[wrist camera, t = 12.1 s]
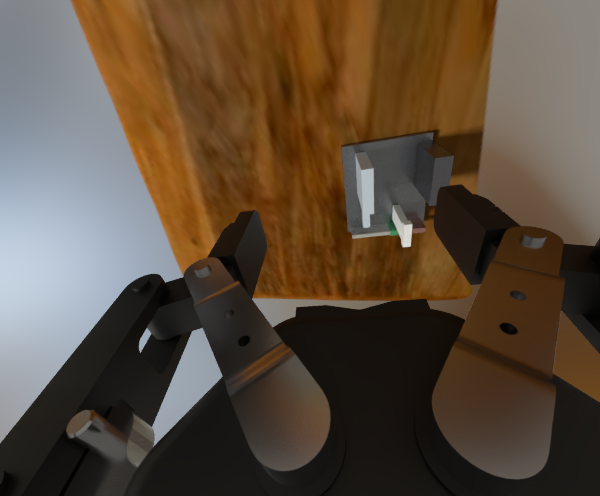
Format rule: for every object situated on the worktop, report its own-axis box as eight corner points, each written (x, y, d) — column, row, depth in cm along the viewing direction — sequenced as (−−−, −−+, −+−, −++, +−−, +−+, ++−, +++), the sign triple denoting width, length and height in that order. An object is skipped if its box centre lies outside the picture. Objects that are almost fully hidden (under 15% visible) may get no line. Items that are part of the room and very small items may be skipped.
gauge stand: (347, 229, 44) (352, 257, 38) (341, 145, 37) (344, 163, 30) (421, 221, 42) (439, 249, 36) (430, 130, 35) (455, 146, 28)
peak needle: (392, 222, 42) (403, 247, 36) (392, 201, 40) (404, 225, 34) (398, 221, 41) (410, 246, 36) (399, 201, 39) (412, 224, 34)
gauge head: (358, 218, 42) (364, 243, 36) (355, 153, 36) (361, 170, 30) (367, 217, 41) (374, 242, 36) (365, 151, 36) (373, 168, 30)
